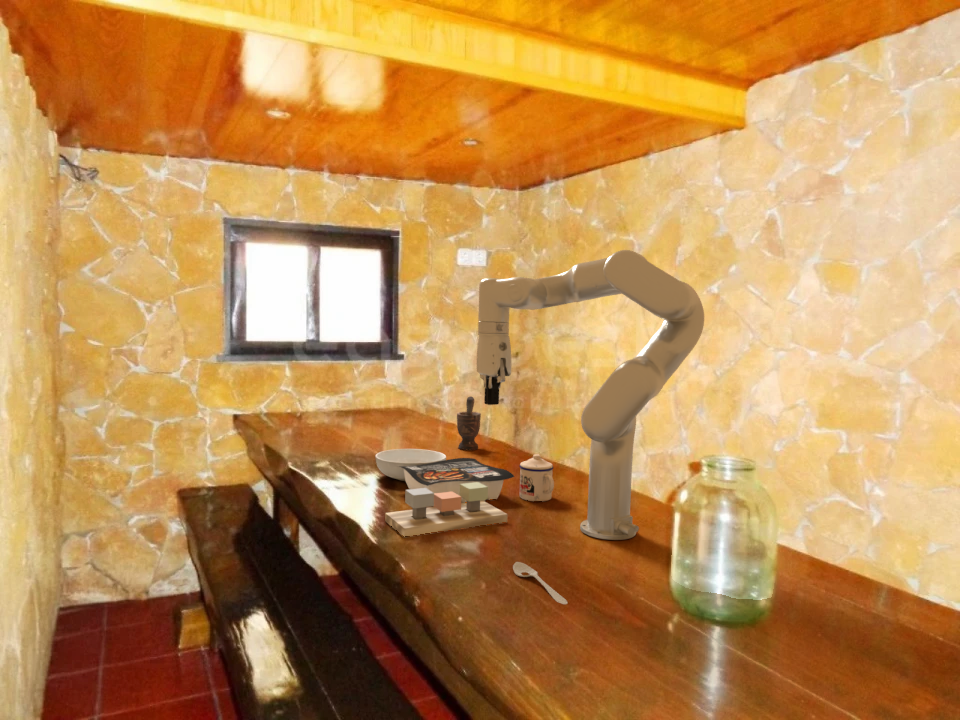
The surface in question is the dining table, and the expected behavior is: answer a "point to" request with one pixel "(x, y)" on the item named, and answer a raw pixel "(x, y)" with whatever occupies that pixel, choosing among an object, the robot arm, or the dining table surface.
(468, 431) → the mortar and pestle
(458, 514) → the button board
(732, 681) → the dining table surface
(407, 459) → the serving bowl
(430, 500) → the slate button
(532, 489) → the teacup with lid
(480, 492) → the sage button
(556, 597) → the spoon
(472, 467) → the food packaging
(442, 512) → the terracotta button
